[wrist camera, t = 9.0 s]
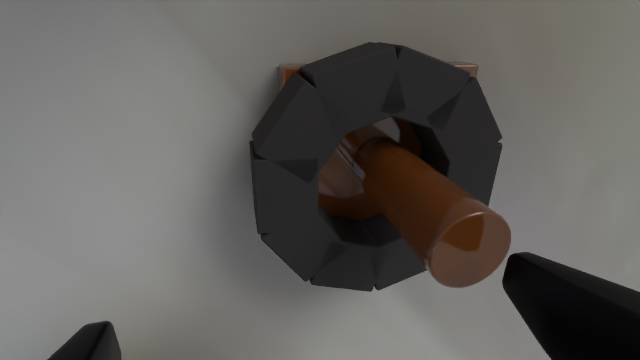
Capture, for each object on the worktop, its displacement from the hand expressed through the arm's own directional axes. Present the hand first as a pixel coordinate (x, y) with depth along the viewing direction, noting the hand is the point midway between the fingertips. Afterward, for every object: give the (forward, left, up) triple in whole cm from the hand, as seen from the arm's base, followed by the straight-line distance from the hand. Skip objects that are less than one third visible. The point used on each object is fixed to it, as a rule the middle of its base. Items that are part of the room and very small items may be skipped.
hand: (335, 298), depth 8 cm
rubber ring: (+3, 0, -7) cm, 8 cm away
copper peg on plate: (+4, 0, -8) cm, 9 cm away
